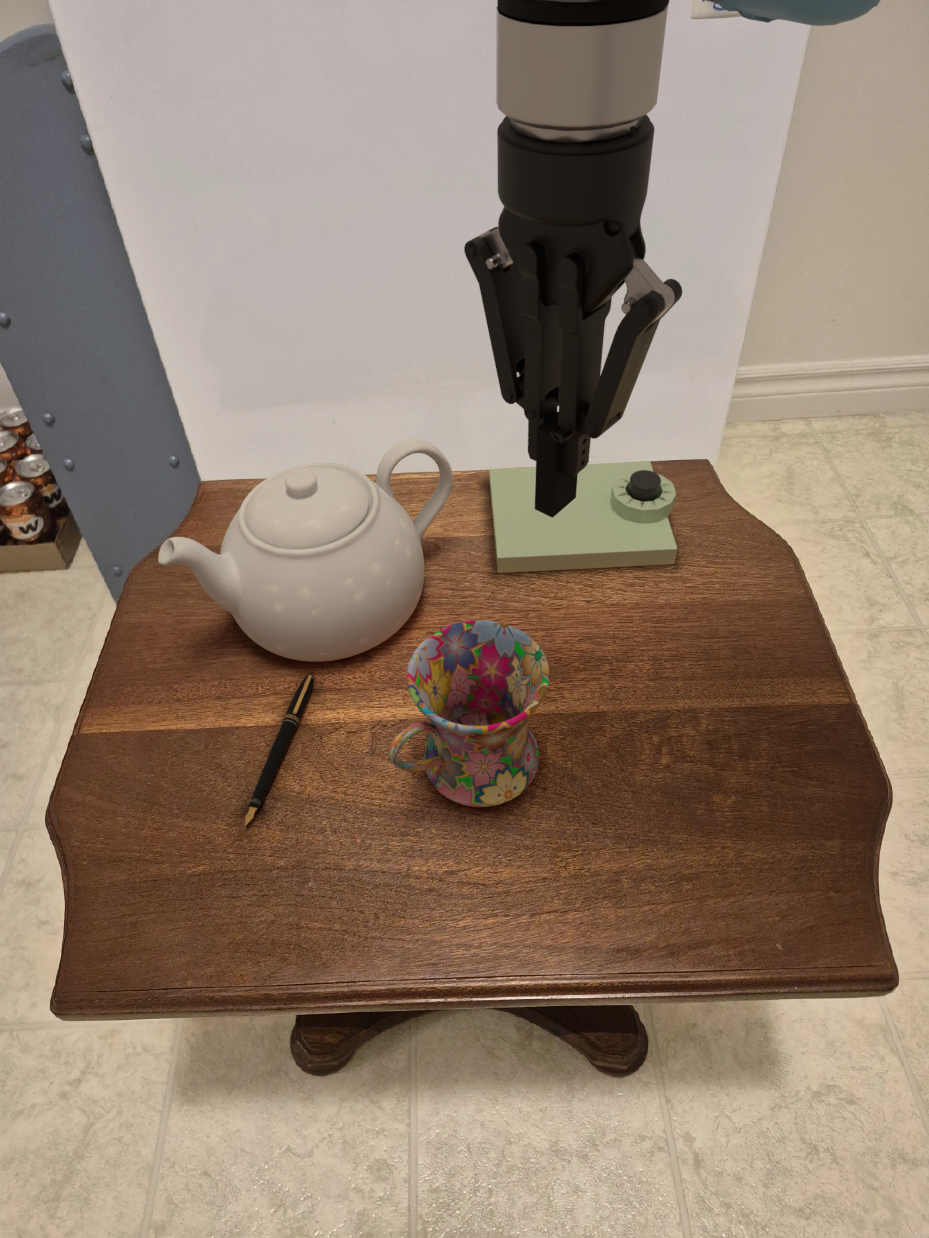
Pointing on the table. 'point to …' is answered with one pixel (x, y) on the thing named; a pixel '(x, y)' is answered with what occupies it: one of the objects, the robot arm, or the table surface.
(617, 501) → the scale
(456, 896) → the table surface
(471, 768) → the mug
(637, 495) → the button
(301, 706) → the fountain pen
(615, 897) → the table surface
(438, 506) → the teapot
